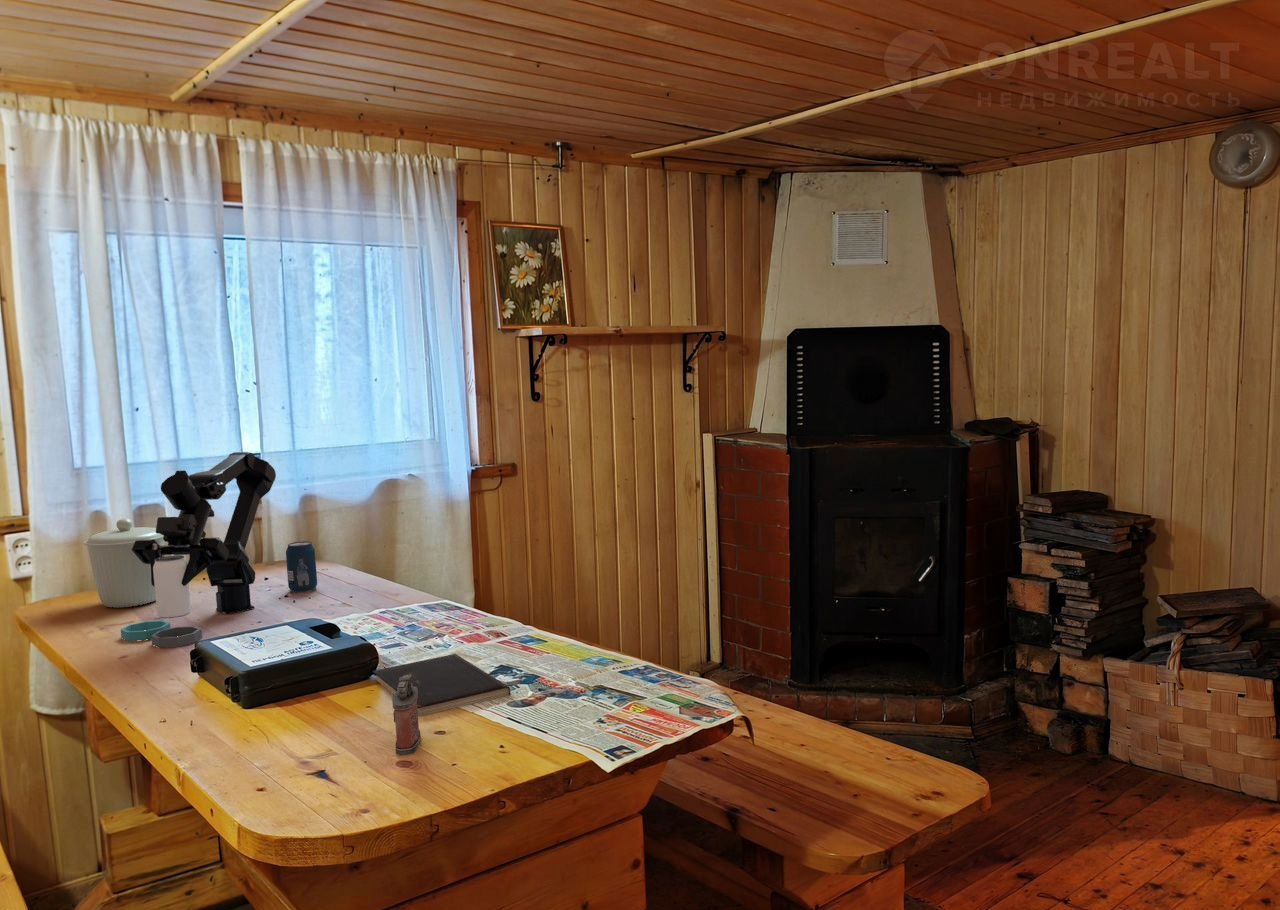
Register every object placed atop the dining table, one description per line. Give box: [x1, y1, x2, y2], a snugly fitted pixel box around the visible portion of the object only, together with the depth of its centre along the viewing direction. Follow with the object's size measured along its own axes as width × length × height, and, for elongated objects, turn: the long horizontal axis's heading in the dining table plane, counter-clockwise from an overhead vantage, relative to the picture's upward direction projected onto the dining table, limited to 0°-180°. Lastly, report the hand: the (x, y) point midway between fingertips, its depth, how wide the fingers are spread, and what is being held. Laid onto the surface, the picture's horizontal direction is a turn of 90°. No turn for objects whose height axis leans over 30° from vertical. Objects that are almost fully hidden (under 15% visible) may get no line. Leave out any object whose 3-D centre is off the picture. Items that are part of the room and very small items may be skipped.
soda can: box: [285, 540, 318, 594], centre depth 250 cm, size 7×7×12 cm
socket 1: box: [120, 620, 171, 642], centre depth 213 cm, size 9×9×2 cm
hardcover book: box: [372, 653, 511, 717], centre depth 170 cm, size 16×23×2 cm
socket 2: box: [151, 625, 203, 649], centre depth 207 cm, size 9×9×2 cm
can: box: [153, 555, 192, 619], centre depth 206 cm, size 6×6×12 cm
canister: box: [83, 518, 165, 609], centre depth 243 cm, size 18×18×21 cm
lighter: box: [392, 675, 422, 757], centre depth 145 cm, size 8×3×10 cm, turn 5°
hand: (168, 585), depth 205 cm, fingers closed on can, 6 cm apart
